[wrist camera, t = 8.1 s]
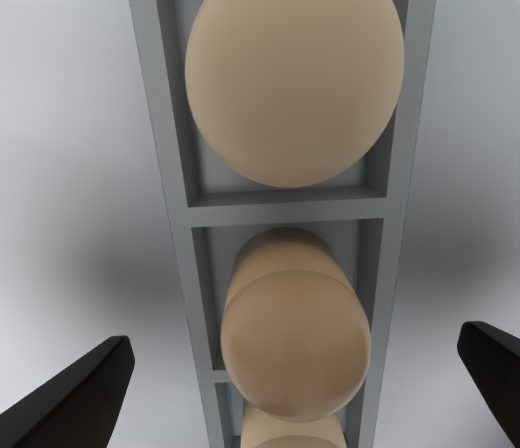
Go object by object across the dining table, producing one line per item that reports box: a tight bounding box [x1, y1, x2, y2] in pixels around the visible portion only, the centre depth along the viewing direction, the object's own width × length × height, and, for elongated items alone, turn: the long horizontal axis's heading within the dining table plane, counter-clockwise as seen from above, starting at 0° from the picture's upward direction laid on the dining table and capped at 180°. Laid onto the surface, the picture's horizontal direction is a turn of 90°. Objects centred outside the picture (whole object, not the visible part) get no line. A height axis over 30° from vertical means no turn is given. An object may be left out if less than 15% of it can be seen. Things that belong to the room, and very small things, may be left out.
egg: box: [220, 227, 371, 423], centre depth 8 cm, size 4×4×5 cm
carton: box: [129, 0, 436, 448], centre depth 8 cm, size 19×7×6 cm, turn 3°
